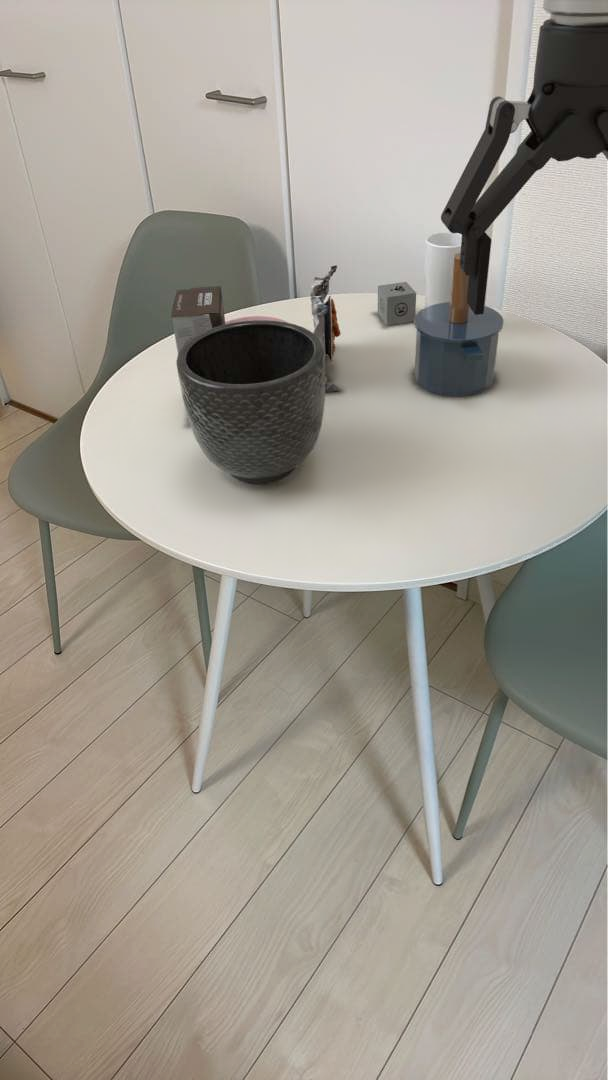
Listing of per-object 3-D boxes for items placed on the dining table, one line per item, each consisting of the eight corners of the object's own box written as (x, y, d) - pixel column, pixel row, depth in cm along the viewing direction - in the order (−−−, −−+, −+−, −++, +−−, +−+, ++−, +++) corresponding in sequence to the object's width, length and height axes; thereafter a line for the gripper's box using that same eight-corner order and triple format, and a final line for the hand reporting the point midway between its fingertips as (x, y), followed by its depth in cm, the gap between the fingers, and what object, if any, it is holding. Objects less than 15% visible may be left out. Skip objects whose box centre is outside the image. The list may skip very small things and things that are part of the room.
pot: (474, 347, 119) (480, 295, 113) (509, 401, 106) (517, 345, 100) (403, 355, 118) (405, 303, 112) (430, 410, 105) (433, 354, 100)
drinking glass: (441, 345, 120) (448, 250, 110) (411, 332, 124) (415, 239, 114) (470, 331, 123) (480, 238, 113) (440, 319, 127) (446, 228, 117)
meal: (343, 391, 110) (341, 306, 102) (314, 392, 111) (310, 307, 102) (339, 345, 122) (337, 264, 113) (312, 346, 122) (309, 266, 113)
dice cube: (415, 321, 127) (416, 292, 124) (386, 326, 126) (387, 297, 123) (405, 309, 131) (406, 281, 127) (377, 314, 130) (377, 285, 127)
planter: (186, 443, 102) (165, 333, 92) (307, 418, 105) (301, 309, 95) (209, 518, 90) (188, 400, 79) (346, 488, 93) (344, 371, 82)
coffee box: (234, 421, 106) (220, 312, 95) (189, 425, 106) (170, 317, 95) (234, 389, 113) (221, 284, 102) (191, 392, 113) (174, 288, 102)
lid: (487, 305, 112) (494, 235, 105) (514, 342, 102) (525, 268, 96) (405, 313, 111) (407, 244, 105) (425, 351, 102) (429, 278, 95)
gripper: (733, -3, 58) (661, 271, 71) (412, 23, 56) (403, 297, 70) (793, 7, 52) (703, 303, 66) (438, 37, 50) (422, 332, 64)
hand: (548, 301), depth 68 cm, fingers open, 13 cm apart
